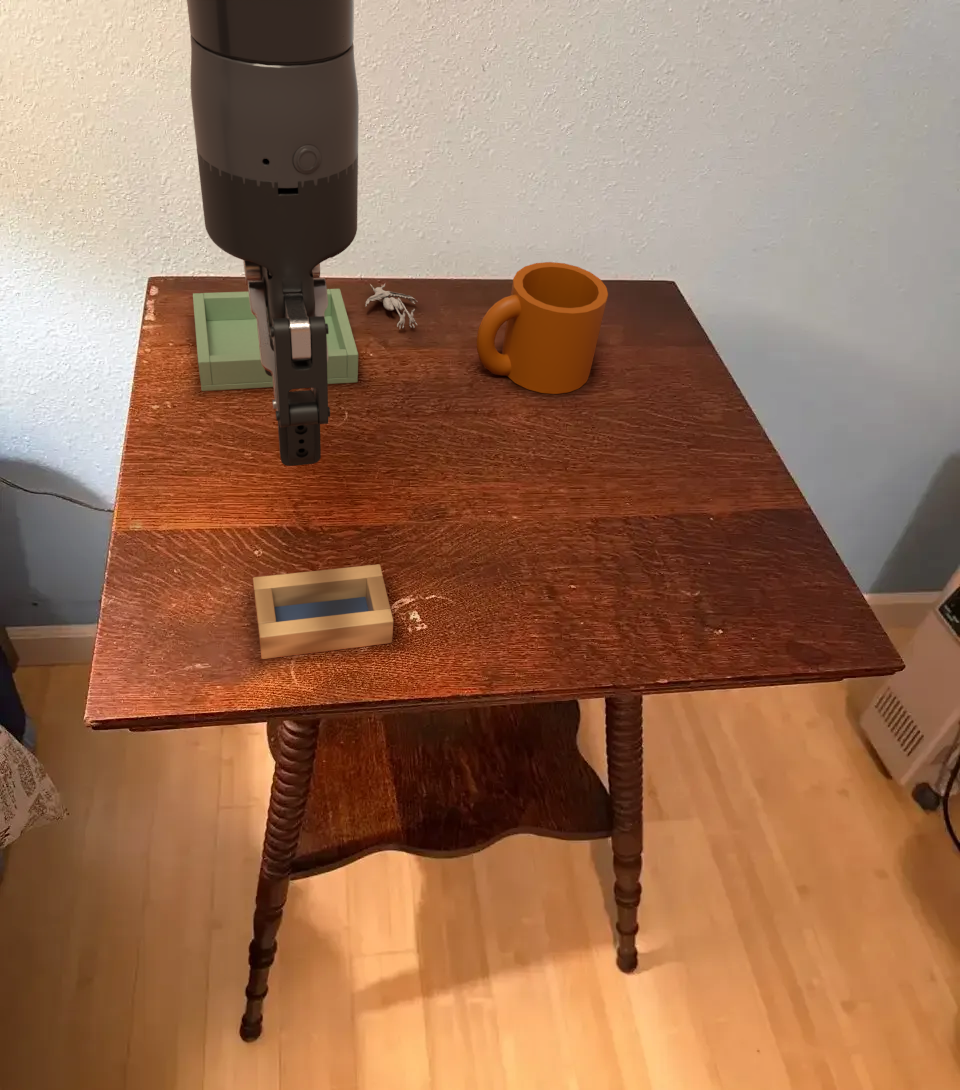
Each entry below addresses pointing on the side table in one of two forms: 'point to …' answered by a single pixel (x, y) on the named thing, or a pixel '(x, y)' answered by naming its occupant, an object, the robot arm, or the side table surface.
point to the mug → (545, 328)
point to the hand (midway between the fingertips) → (291, 414)
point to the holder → (235, 343)
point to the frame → (322, 611)
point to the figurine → (393, 303)
